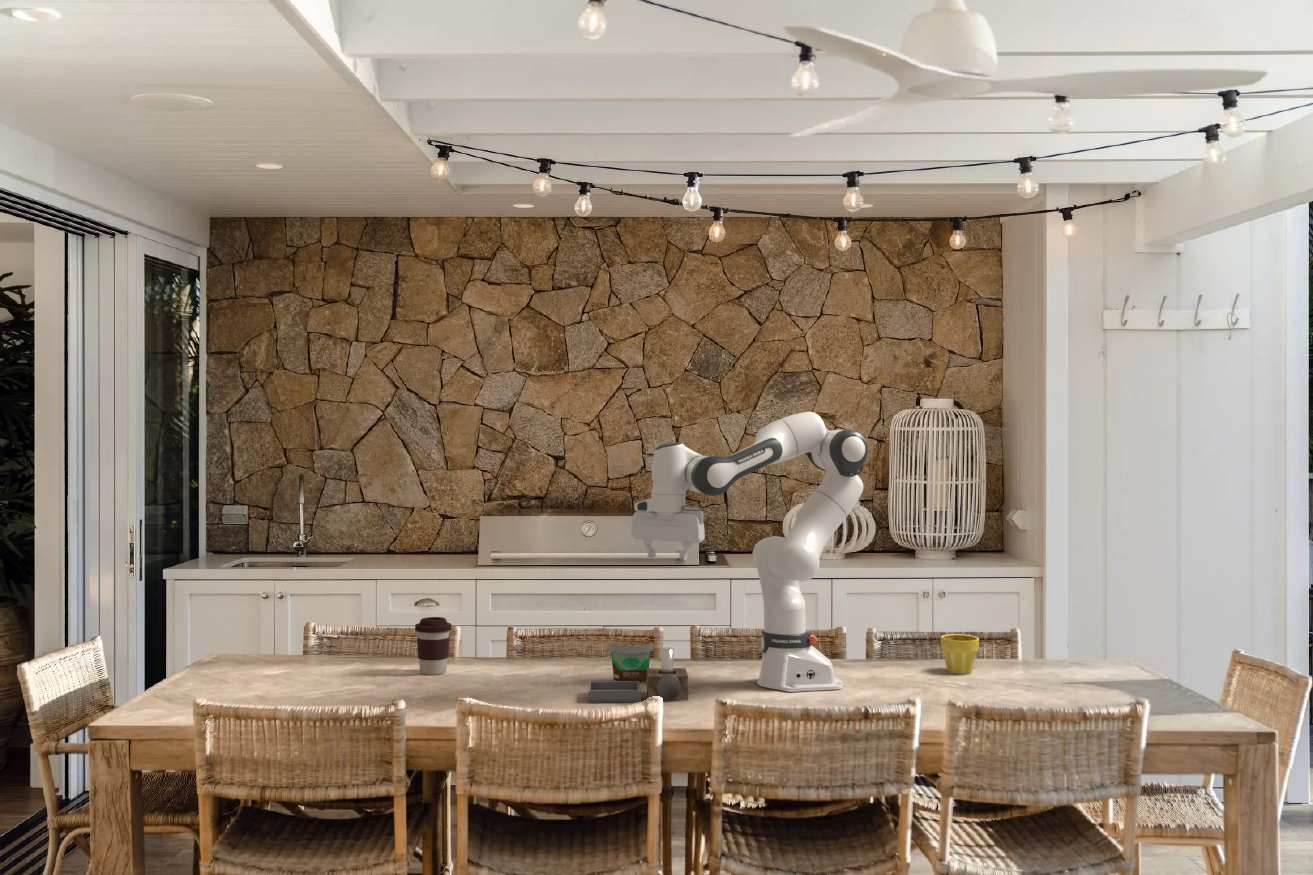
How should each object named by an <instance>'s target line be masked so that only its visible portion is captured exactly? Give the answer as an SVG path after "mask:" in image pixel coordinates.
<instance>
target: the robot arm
mask: <svg viewBox="0 0 1313 875" xmlns="http://www.w3.org/2000/svg"><path fill="white" fill-rule="evenodd" d="M803 454H805V455H806V456H807V458H808V460H809V462H810V463H811V465H812V466H814V467H815V468H817V469H819V470H821V471H824V472H825V474H824V477H823V479H822V482H821V483H820V485H818V487H817V488H816V489H815V490H814V491H813V492H812V493H811V495H810V496H809V497H808V498H807V500H805V502H804V503H803V504H802V506H800V508H799V509H798V510H797V512H796V513H795V521H794V523H793V526H792V528H791V529H790V531H789V533H788V534H787V535H786V536H784V537H783V536H778V535H772V536H768V537H764V538H762V539H760V540H759V541H757V542H756V543H755V545H754V547H753V550H752V562H753V563H754V566H755V568H756V569H757V573H758V577H759V578H758V579H759V583H760V587H761V594H762V600H763V601H762V602H763V630H762V632H761V651H762V659H761V667H760V671H759V672H760V673H759V676H758V678H757V682H756V684H757V685H759V686H760V687H763V688H766V689H767V688H768V689H772V690H778V691H779V690H780V691H781V692H789V693H790V692H791V693H794V692H795V693H796V692H813V691H814V692H816V691H831V690H841V689H843V688H844V685H843V684H844V683H843V681H842V680H841V679H840V678H838V677H836V676H835V669H834V666H833V663H832V661H831V660H830V659H829V658H828V657H827V656H825V655H824V654H823V653H822V652H821V651H819V650H818V649H817V648H816V647H814V646H813V645H814V644H816V643H817V642H818V639H817V636H816V635H814V634H811V633H810V632H808V631H806V609H807V608H806V605H807V604H806V601H805V598H804V596H803V593H802V591H801V588H800V583H801V582H807V581H809V580H811V579H813V578H814V577H815V576H816V575H817V574H818V572H819V569H820V563H821V562H820V561H821V560H820V558H821V555H822V553H823V552H824V549H825V547H826V545H827V543H828V541H829V540H830V539H831V537H832V536H833V534H835V532H836V531H837V530H838V528H839V527H840V526H841V524H842V523H843V522H844V521H845V520H846V519H847V517H848V516H849V514H851V512H852V511H853V509H854V508H855V506H856V505H857V503H858V502H859V499H861V496H862V494H863V491H864V483H863V480H862V479H861V478H860V476H859V475H860V473H862V472H863V470H864V465H865V462H866V460H867V458H868V456H869V444H868V441H867V438H866V437H864V436H863V435H862V434H861V433H859V431H855V430H852V429H833V430H829V429H828V428H827V427H826V425H825V422H824V420H823V419H822V418H821V416H820V415H819V414H817V412H814V411H805V412H799V413H794V414H792V415H788V416H785V417H782V418H779V419H777V420H774V421H772V422H770V423H769V424H767V425H765V426H763V427H762V428H760V429H759V430H758V431H757V433H756V434H755V439H754V443H753V444H752V445H749V446H748V447H745V448H743V449H740V450H739V451H736V452H735V453H731V454H729V455H725V456H720V455H719V456H718V455H711V456H709V455H707V456H706V455H703V454H701V453H698V452H696V451H694V450H692V449H691V448H689V447H687V446H686V445H685V444H684V443H683V442H678V441H677V442H676V441H674V442H667V443H663V444H659V445H658V446H656V448H655V449H654V451H653V456H652V465H651V479H652V490H651V498H648V499H643V500H642V501H641V500H640V501H638V502H635V503H634V505H633V508H634V509H633V510H634V511H635V512H634V513H633V515H632V518H631V519H632V520H631V536H632V538H633V539H635V540H643V545H644V546H645V549H646V551H647V558H655V557H656V556H657V554H656V553H657V551H656V549H653V546H652V544H653V541H662V542H674V543H675V542H676V543H682V544H683V547H684V548H683V550H682V552H679V560H681V561H686V560H688V558H689V556H688V555H689V554H688V553H689V552H690V550H691V548H692V546H693V544H699V543H701V544H702V543H703V541H704V540H705V539H706V538H705V536H706V534H705V524H704V520H705V513H704V511H703V510H702V509H701V508H700V506H689V505H686V491H688V490H690V491H692V492H696V493H700V494H704V495H706V496H711V497H717V496H721V495H722V494H724V493H726V492H727V490H729V489H730V488H731V487H732V486H733V485H734V483H736V481H738V480H740V479H741V478H742V477H745V476H746V475H747V476H748V475H749V474H751V473H753V472H755V471H758V470H760V469H762V468H765V467H766V466H767V467H768V466H771V465H777V464H779V463H783V462H784V463H785V462H787V461H789V460H793V459H795V458H797V457H799V456H801V455H803Z"/></svg>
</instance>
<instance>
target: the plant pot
mask: <svg viewBox="0 0 1313 875" xmlns="http://www.w3.org/2000/svg"><path fill="white" fill-rule="evenodd" d="M979 646H980V638H979V637H977V636H976V635H975V636H974V635H970V634H960V633H958V634H957V633H951V634H949V633H948V634H944V635H941V637H940V649H941V650H943V656H944V661H945V665H946V670H947V672H948V673H951V674H955V675H968V674H969V675H970V674H971V673H972V671H973V666H974V665H975V664H974V663H975V660H976V655H977V652H978V651H979V648H980V647H979Z"/></svg>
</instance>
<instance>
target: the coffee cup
mask: <svg viewBox="0 0 1313 875" xmlns="http://www.w3.org/2000/svg"><path fill="white" fill-rule="evenodd" d="M452 627H453V626H452V623H450V622H448V621H447V619H446V617H442V616H440V617H439V616H430V617H422V618H421V619H420V620H419V623H416V624H414V631H416V634H417V636H416V642H417V643H416V644H417V658H418V661H419V662H418V664H419V672H420V674H422V675H425V676H439V675H443V674H445V673H447V670H448V658H449V651H450V639H451V637H450V631H452Z"/></svg>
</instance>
